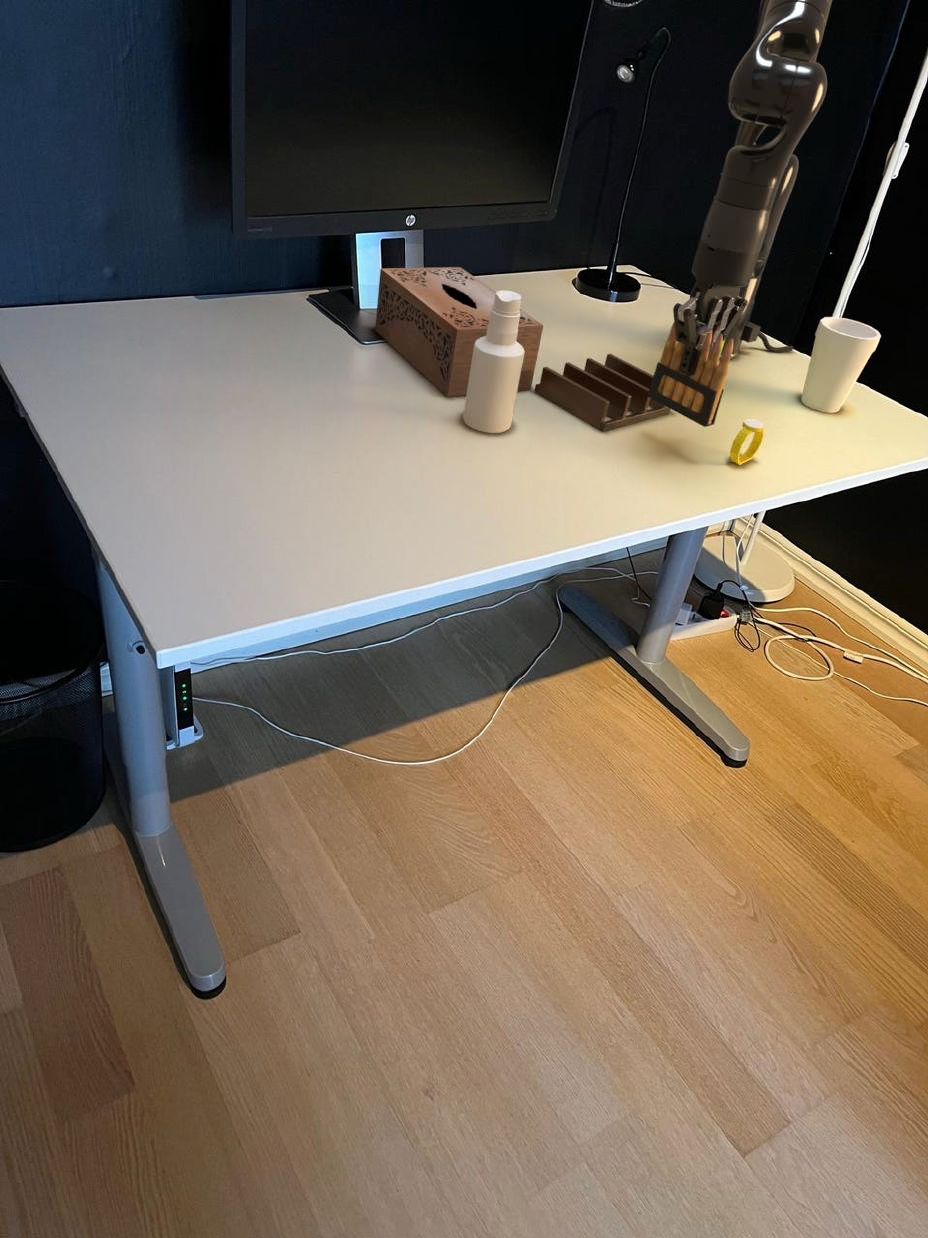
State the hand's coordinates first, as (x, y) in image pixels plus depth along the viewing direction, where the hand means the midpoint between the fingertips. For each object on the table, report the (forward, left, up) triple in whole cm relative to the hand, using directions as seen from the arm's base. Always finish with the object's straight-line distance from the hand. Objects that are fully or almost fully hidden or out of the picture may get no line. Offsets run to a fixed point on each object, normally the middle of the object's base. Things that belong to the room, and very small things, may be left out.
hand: (691, 372), depth 126 cm
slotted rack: (-2, -15, -11) cm, 19 cm away
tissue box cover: (+10, -37, -11) cm, 40 cm away
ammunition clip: (0, 0, -6) cm, 6 cm away
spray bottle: (+20, -17, -11) cm, 29 cm away
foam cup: (-39, +1, -11) cm, 41 cm away
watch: (-7, +8, -11) cm, 15 cm away
